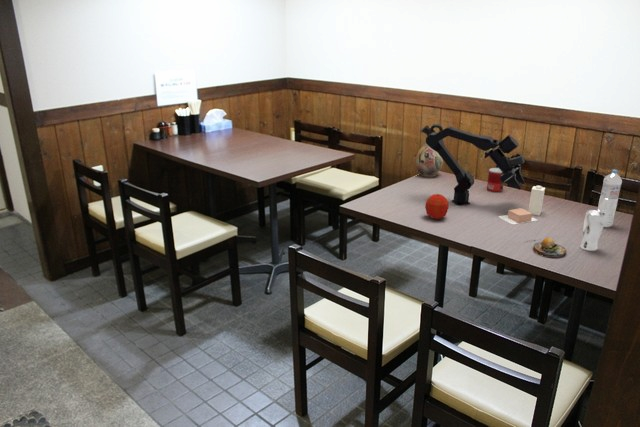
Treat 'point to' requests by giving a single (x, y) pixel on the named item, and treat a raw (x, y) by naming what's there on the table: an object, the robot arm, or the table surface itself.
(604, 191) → the water bottle
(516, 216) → the base block
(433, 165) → the ceramic jug
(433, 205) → the apple
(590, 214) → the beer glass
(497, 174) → the canned food
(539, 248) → the burger
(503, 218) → the baseplate
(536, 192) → the tall block
